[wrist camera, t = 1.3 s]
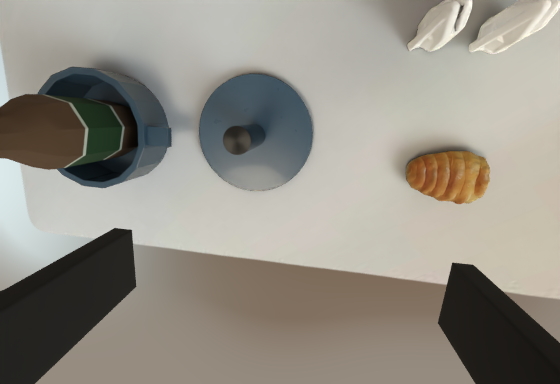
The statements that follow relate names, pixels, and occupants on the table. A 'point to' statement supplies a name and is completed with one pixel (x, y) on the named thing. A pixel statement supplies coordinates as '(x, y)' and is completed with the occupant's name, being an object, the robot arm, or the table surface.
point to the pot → (145, 111)
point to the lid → (255, 132)
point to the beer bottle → (65, 130)
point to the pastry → (449, 176)
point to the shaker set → (493, 33)
